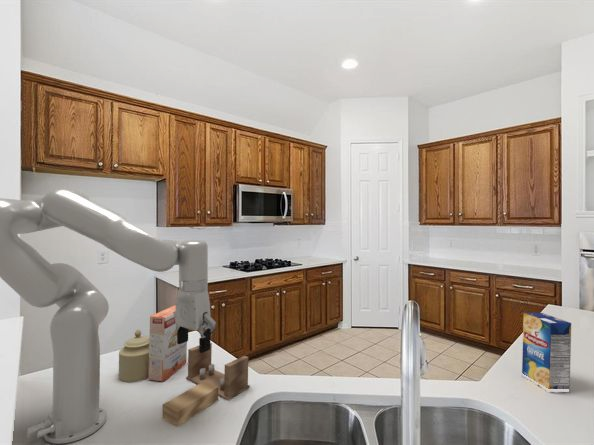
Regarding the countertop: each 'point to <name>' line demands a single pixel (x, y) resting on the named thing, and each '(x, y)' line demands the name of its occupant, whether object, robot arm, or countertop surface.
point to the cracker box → (164, 346)
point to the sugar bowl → (134, 359)
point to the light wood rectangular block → (189, 403)
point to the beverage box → (546, 350)
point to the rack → (218, 373)
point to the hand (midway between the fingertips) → (193, 346)
